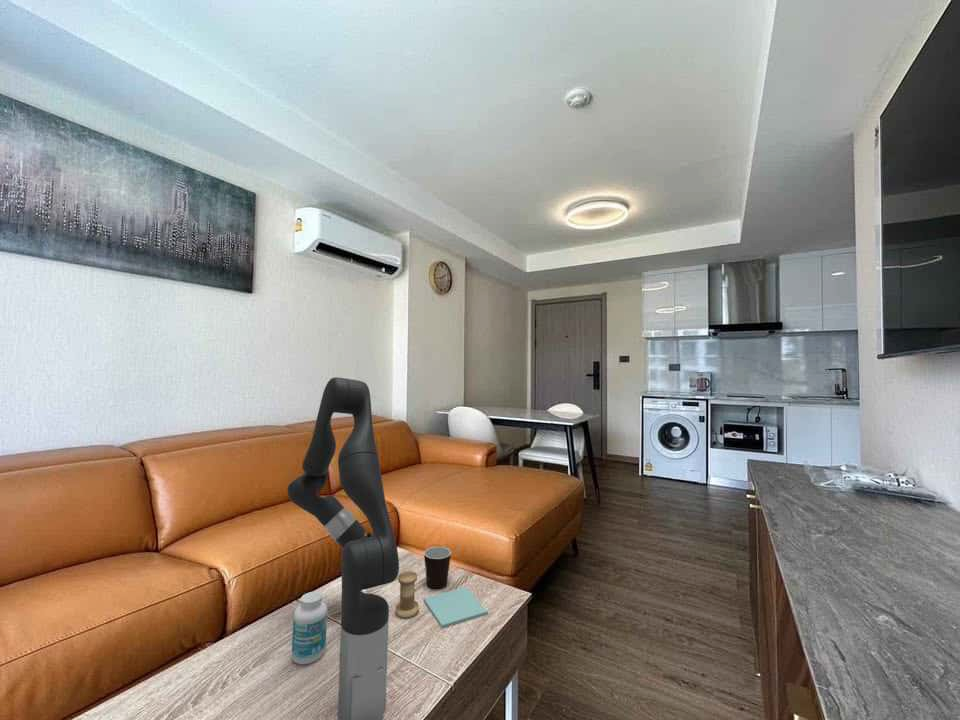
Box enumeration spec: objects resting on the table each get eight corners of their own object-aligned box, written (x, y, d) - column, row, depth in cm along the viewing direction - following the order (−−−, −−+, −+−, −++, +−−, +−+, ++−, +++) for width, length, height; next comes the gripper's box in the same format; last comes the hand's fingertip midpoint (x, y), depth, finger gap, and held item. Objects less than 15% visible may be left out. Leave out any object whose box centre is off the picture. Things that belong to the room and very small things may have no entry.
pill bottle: (288, 669, 88) (291, 607, 89) (294, 647, 95) (297, 590, 96) (323, 663, 90) (326, 603, 91) (327, 642, 97) (329, 586, 98)
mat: (487, 614, 110) (487, 611, 110) (441, 628, 103) (442, 625, 103) (465, 589, 122) (465, 587, 122) (423, 600, 116) (423, 598, 116)
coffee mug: (445, 593, 120) (446, 560, 120) (419, 589, 122) (420, 557, 122) (455, 574, 131) (456, 544, 132) (431, 571, 133) (432, 541, 134)
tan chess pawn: (421, 614, 109) (422, 578, 109) (399, 621, 106) (400, 584, 106) (413, 602, 115) (414, 568, 115) (392, 608, 111) (393, 573, 112)
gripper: (345, 529, 105) (386, 574, 104) (362, 510, 119) (399, 550, 118) (325, 548, 104) (366, 594, 104) (344, 528, 119) (381, 567, 118)
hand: (383, 571), depth 111 cm, fingers open, 8 cm apart
